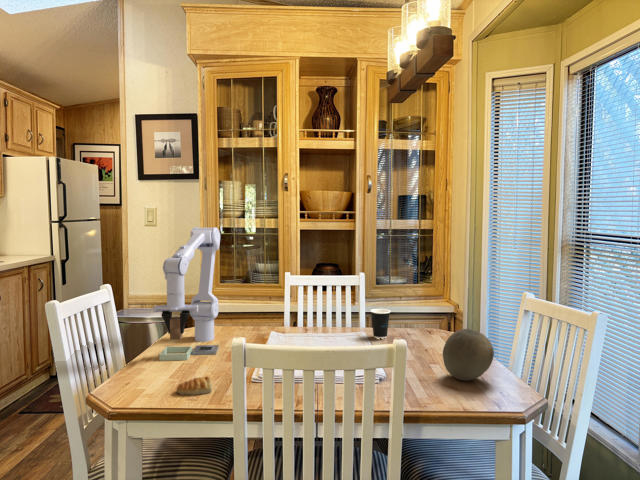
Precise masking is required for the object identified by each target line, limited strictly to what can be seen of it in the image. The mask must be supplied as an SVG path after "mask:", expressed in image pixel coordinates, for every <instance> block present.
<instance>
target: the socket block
mask: <svg viewBox="0 0 640 480" xmlns="http://www.w3.org/2000/svg"><path fill="white" fill-rule="evenodd" d="M219 348H220V344H210V345H209V344H204V345H203V344H202V345H201V344H198V345H195V347H194V349H192V354H191V355H192V356H199V355H200V356H206V355H207V356H208V355H209V356H211V355H212V356H213V355H214V356H215V355H217V352H218V351H219Z"/></svg>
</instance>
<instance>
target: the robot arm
mask: <svg viewBox="0 0 640 480" xmlns="http://www.w3.org/2000/svg"><path fill="white" fill-rule="evenodd" d="M189 237H190V238H189V239H188V241H187V243H186V244H182V245H180V246H179V247H178V249H177V250H176V251H175V253H174V254H173V255H172V256H170V257H168V258H166V259H165V260H164V262H163V264H162V271H163V274H164V279H165V281H166V304H165V305H163V304H162V305H153V306H152V313H161V317H162V320H163V321H164V324H165V326H166V329H167V333H168V334H169V335H170V318H171V317H173V313H174V312H175V313H177V312H178V313H179V317H180V321H181V329H180V331H181V334H184V333H185V328H186V327H185V326H186V323H187V320H188V318H189V315H190V317H191V318H192V320H194V341H195V342H198V343H205V342H206V343H207V342H211V341H214V340H215V319H216V318H217V317H218V314H219V311H220V307H219V299H218V298H217V296H215V295H214V294H213V285H214V284H213V283H214V275H215V274H214V272H215V263H216V262H215V260H216V254H217V253H216V252H217V251H218V250H219V249H220V244H221V243H220V242H221V232H220V230H219V229H218V227H216V226H214V227H198V226H194V227H192V229H191V230H190V235H189ZM196 250H200V252H201V264H200V275H199V285H198V293H196V294H195V295H194V296H193V297H191V302H190V304H185V302H186V301H185V298H186V297H185V296H186V294H185V274H187V273H188V270H189V269H188V268H189V267H190V262H191V261H192V260H193V258H195V253H196V252H195V251H196Z"/></svg>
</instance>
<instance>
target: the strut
mask: <svg viewBox="0 0 640 480" xmlns="http://www.w3.org/2000/svg"><path fill="white" fill-rule="evenodd" d="M180 329H181V321H180V316H172V317H171V318H170V334H169V340H171V341H172V340H173V341H174V340H175V341H176V340H179V341H180V340H181V339H183V334H184V333H183V334H181V331H180Z"/></svg>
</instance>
